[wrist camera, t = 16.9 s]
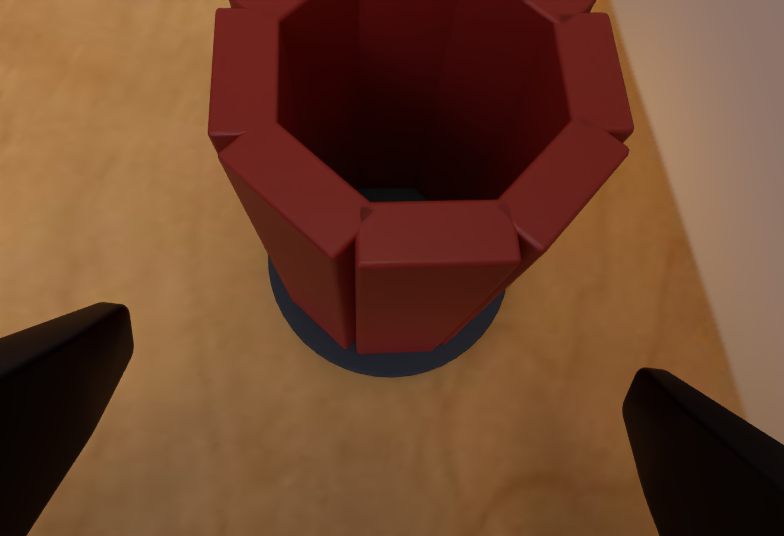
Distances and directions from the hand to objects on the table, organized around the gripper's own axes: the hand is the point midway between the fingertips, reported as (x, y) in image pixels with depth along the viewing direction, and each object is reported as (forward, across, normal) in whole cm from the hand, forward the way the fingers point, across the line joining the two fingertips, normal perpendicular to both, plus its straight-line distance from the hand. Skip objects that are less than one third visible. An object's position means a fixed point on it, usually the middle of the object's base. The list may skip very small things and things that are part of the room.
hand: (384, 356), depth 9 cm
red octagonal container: (+7, 0, +1) cm, 7 cm away
